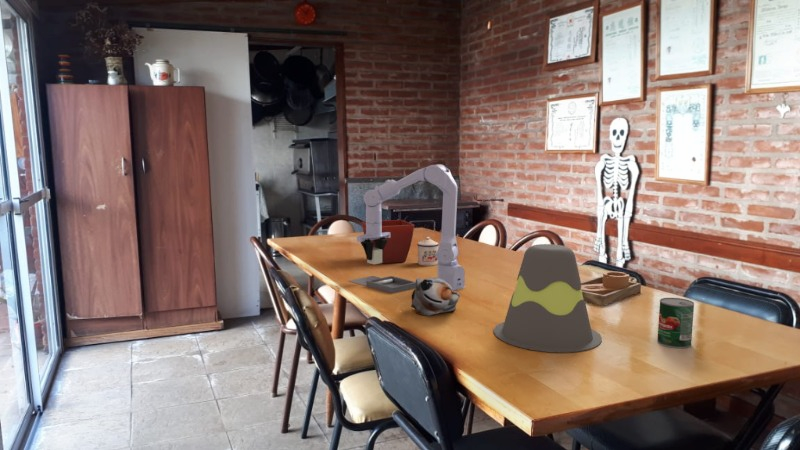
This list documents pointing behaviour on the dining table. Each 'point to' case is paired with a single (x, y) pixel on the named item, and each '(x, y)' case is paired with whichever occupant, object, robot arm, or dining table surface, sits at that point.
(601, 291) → the brown cup and saucer
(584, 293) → the fitting cradle
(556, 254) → the grey brimmed hat
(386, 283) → the case
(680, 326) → the canned tomato
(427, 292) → the grey lumpy rounded piece
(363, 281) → the lid panel
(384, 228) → the plant pot
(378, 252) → the block
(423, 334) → the dining table surface
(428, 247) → the teacup with lid
